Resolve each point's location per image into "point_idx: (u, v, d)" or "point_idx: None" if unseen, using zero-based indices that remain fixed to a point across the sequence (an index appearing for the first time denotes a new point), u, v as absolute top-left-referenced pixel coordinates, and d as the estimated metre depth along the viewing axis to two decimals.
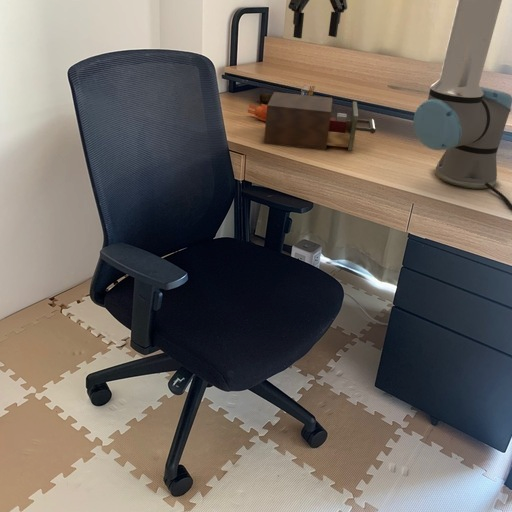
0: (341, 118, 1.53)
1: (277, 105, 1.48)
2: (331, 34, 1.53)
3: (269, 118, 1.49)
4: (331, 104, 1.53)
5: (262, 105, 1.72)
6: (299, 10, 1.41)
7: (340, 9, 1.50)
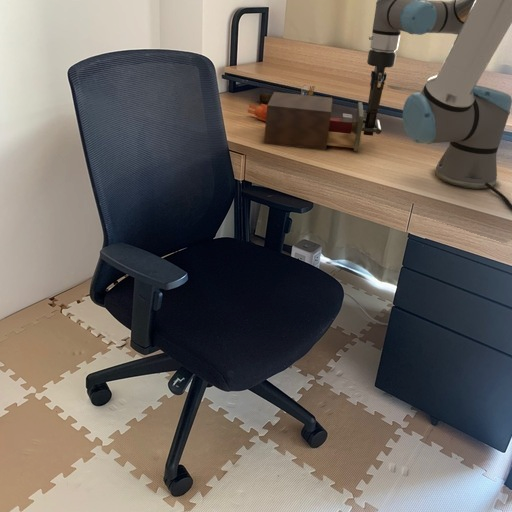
0: (347, 119, 1.52)
1: (277, 105, 1.48)
2: None
3: (269, 118, 1.49)
4: (331, 104, 1.53)
5: (262, 105, 1.72)
6: (376, 113, 1.50)
7: None
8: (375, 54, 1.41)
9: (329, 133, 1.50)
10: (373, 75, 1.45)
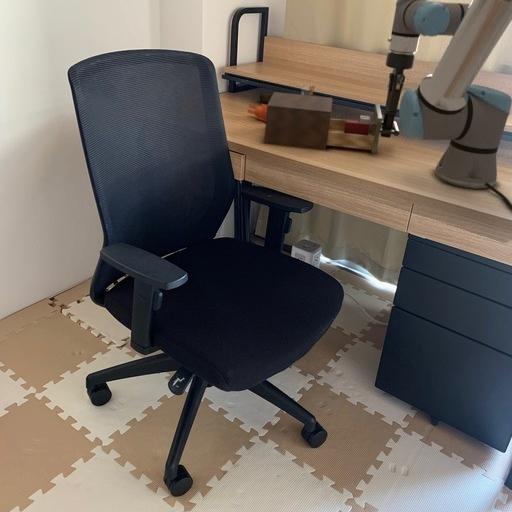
0: (364, 120, 1.52)
1: (277, 105, 1.48)
2: None
3: (269, 118, 1.49)
4: (331, 104, 1.53)
5: (262, 105, 1.72)
6: (394, 115, 1.50)
7: None
8: (394, 56, 1.41)
9: (347, 135, 1.49)
10: (392, 77, 1.45)
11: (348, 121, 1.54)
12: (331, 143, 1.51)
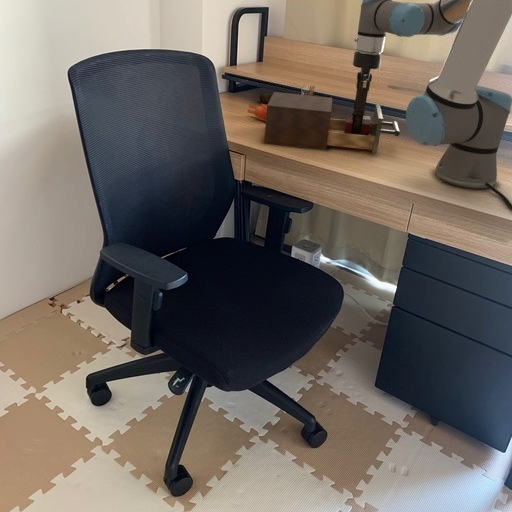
0: (365, 120, 1.52)
1: (277, 105, 1.48)
2: None
3: (269, 118, 1.49)
4: (331, 104, 1.53)
5: (262, 105, 1.72)
6: None
7: None
8: (360, 56, 1.42)
9: (348, 135, 1.49)
10: (359, 76, 1.46)
11: (348, 121, 1.54)
12: (332, 143, 1.51)
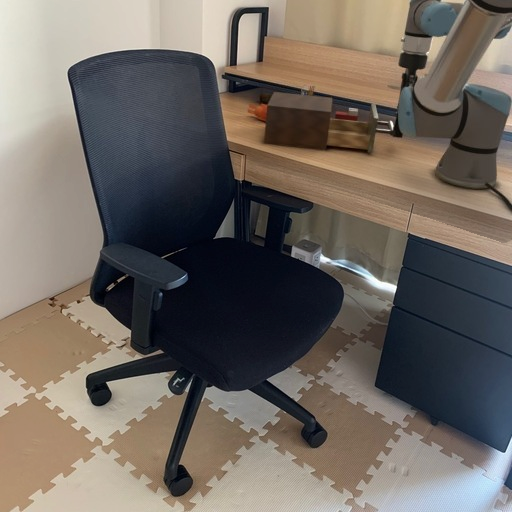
0: (352, 112, 1.66)
1: (277, 105, 1.48)
2: None
3: (269, 118, 1.49)
4: (331, 104, 1.53)
5: (262, 105, 1.72)
6: None
7: None
8: (407, 56, 1.41)
9: (343, 135, 1.49)
10: (404, 77, 1.45)
11: (338, 113, 1.68)
12: (327, 143, 1.51)
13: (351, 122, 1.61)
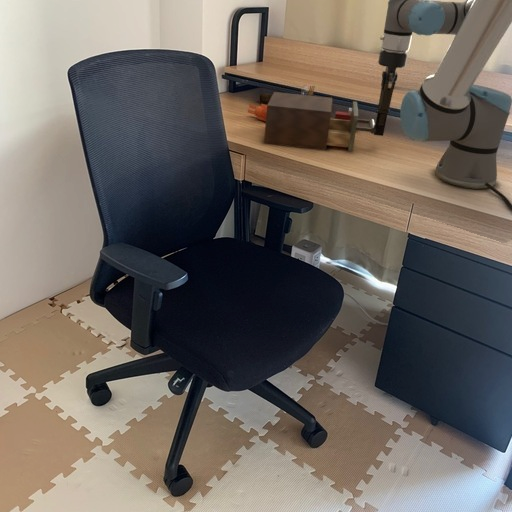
0: None
1: (277, 105, 1.48)
2: None
3: (269, 118, 1.49)
4: (331, 104, 1.53)
5: (262, 105, 1.72)
6: None
7: None
8: (386, 54, 1.41)
9: None
10: (384, 75, 1.45)
11: (338, 113, 1.68)
12: None
13: (333, 120, 1.62)
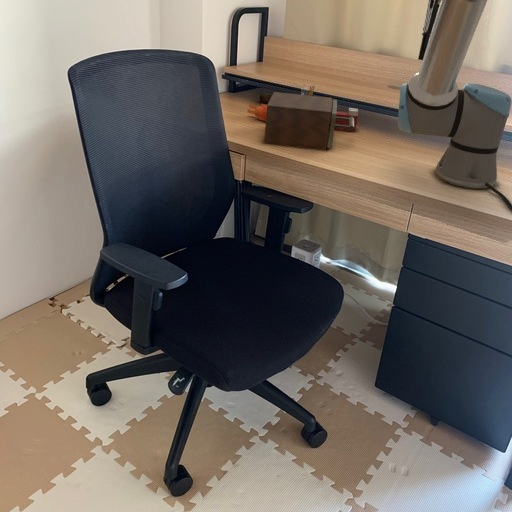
0: (352, 112, 1.66)
1: (277, 105, 1.48)
2: (423, 57, 1.50)
3: (269, 118, 1.49)
4: (331, 104, 1.53)
5: (262, 105, 1.72)
6: None
7: None
8: None
9: None
10: None
11: (338, 113, 1.68)
12: None
13: None
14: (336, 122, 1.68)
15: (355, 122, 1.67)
